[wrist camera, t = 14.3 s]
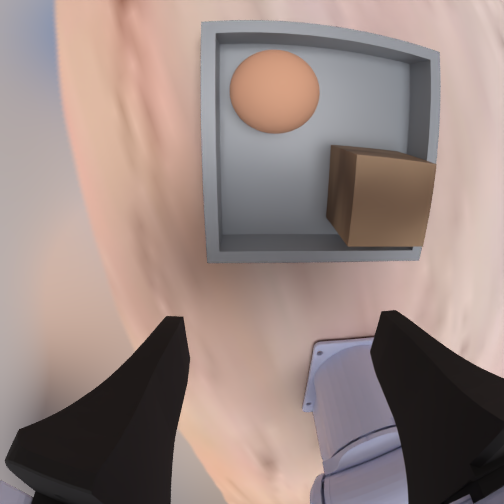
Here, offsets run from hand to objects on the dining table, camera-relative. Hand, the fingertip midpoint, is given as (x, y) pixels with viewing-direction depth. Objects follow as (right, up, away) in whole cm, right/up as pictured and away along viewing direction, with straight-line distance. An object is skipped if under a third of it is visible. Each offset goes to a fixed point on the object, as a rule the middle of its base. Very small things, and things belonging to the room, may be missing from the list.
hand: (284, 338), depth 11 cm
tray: (+3, +10, +6) cm, 12 cm away
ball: (0, +12, +5) cm, 13 cm away
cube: (+6, +7, +7) cm, 12 cm away
